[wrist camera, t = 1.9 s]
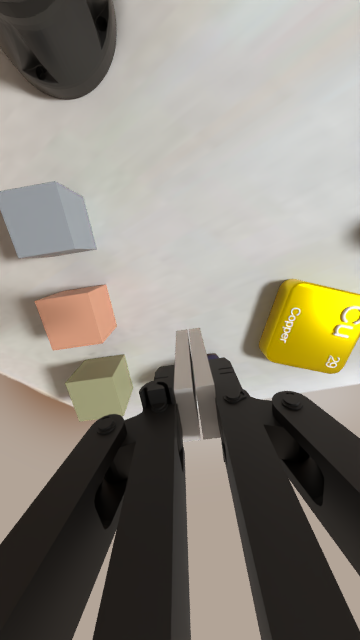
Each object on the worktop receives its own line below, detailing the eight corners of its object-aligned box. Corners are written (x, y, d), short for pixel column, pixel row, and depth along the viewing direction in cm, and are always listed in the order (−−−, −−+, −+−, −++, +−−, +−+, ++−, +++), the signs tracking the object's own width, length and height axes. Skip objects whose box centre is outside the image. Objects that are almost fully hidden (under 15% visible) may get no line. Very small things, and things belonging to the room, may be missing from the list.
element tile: (282, 276, 38) (296, 279, 33) (359, 293, 39) (383, 299, 34) (255, 350, 42) (264, 362, 38) (324, 364, 44) (341, 378, 39)
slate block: (52, 256, 37) (18, 258, 29) (35, 205, 34) (-7, 192, 27) (97, 249, 36) (75, 248, 29) (83, 196, 34) (55, 181, 26)
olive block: (96, 392, 45) (79, 421, 38) (85, 359, 43) (65, 383, 35) (133, 387, 45) (123, 415, 37) (124, 354, 42) (112, 376, 35)
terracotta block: (76, 331, 41) (52, 350, 33) (63, 291, 38) (34, 301, 31) (117, 325, 41) (102, 343, 33) (106, 284, 38) (87, 292, 30)
